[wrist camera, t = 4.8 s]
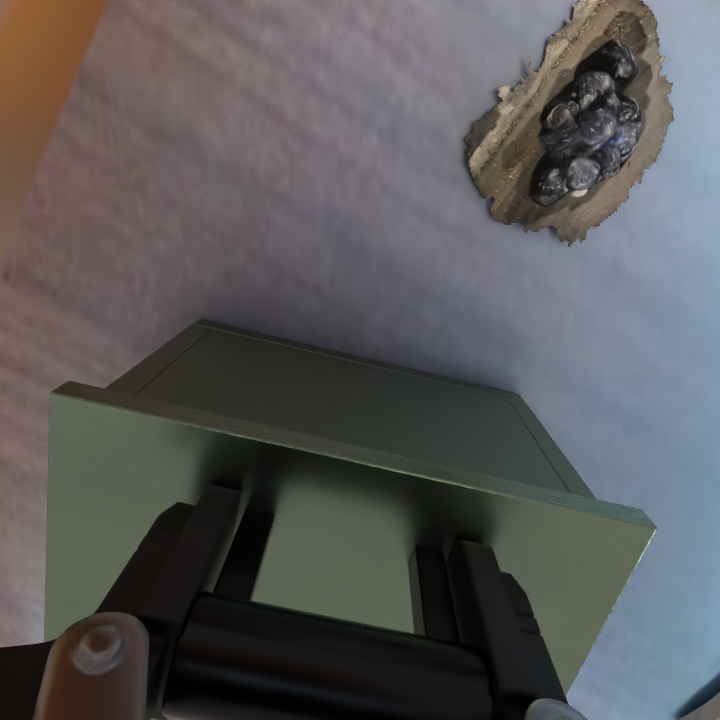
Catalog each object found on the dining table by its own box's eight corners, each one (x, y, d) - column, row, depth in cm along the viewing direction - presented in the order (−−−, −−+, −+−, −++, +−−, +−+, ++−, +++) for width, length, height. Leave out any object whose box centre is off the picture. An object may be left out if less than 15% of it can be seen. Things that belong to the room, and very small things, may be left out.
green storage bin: (199, 318, 20) (72, 411, 11) (520, 394, 20) (622, 533, 12) (164, 578, 24) (54, 782, 16) (429, 632, 25) (458, 855, 16)
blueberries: (439, 206, 18) (447, 209, 16) (525, -47, 15) (546, -78, 14) (605, 259, 19) (630, 267, 17) (715, 24, 16) (759, 4, 14)
